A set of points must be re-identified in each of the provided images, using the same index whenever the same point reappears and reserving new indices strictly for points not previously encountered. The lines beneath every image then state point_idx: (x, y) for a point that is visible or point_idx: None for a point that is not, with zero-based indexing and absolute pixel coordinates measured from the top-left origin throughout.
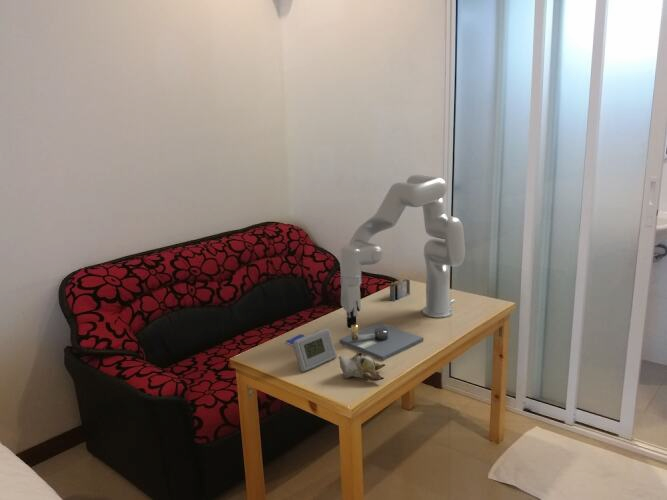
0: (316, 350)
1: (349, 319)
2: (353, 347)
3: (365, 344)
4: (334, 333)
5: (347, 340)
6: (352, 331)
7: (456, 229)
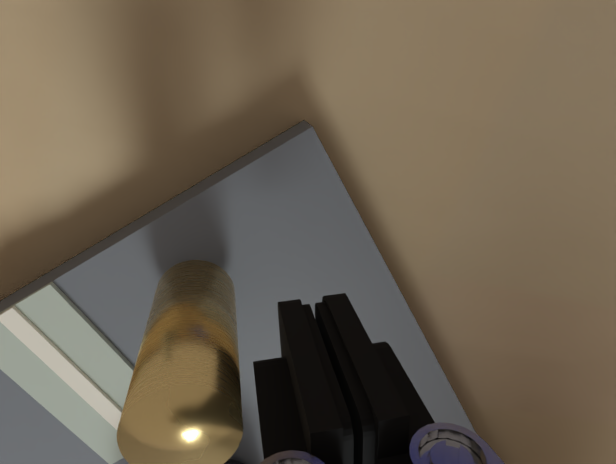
0: None
1: (305, 429)
2: (111, 237)
3: (65, 369)
4: (550, 124)
5: (249, 210)
6: (157, 332)
7: None
